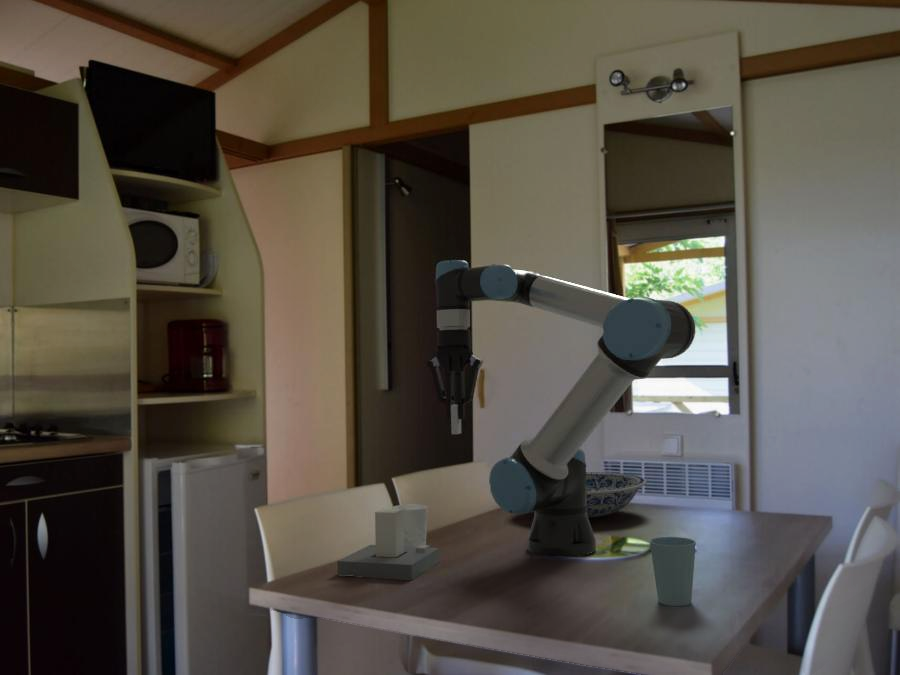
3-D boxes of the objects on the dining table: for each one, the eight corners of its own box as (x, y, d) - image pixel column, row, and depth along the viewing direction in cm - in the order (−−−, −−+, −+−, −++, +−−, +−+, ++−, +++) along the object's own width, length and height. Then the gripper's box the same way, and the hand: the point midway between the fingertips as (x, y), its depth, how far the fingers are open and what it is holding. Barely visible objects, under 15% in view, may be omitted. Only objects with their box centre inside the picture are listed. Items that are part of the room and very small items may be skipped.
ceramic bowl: (493, 517, 235) (492, 481, 235) (573, 502, 258) (572, 468, 258) (594, 533, 210) (592, 492, 210) (672, 514, 233) (671, 477, 233)
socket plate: (439, 562, 182) (438, 544, 183) (412, 580, 167) (411, 560, 167) (370, 558, 188) (369, 541, 188) (337, 576, 172) (337, 557, 173)
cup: (642, 602, 148) (640, 541, 148) (668, 593, 153) (667, 534, 153) (679, 610, 142) (678, 547, 143) (706, 602, 147) (704, 540, 148)
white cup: (423, 555, 190) (422, 510, 190) (389, 554, 191) (388, 509, 191) (431, 548, 197) (430, 504, 198) (398, 547, 199) (397, 504, 199)
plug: (404, 567, 179) (403, 509, 179) (396, 572, 175) (395, 512, 175) (384, 566, 180) (383, 508, 181) (376, 571, 176) (374, 512, 176)
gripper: (485, 328, 196) (488, 432, 195) (432, 331, 200) (434, 432, 199) (476, 327, 189) (479, 435, 188) (420, 329, 193) (423, 435, 192)
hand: (456, 433), depth 193 cm, fingers closed
